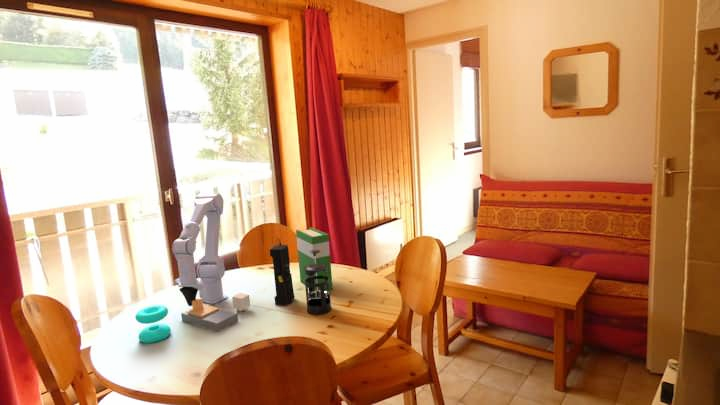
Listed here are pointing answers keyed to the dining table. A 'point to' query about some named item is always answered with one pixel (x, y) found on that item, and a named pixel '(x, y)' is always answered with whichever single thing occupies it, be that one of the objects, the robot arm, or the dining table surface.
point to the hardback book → (307, 243)
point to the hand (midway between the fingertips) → (191, 304)
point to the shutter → (201, 308)
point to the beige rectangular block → (241, 301)
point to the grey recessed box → (212, 319)
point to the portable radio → (282, 275)
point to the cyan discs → (156, 330)
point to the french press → (317, 297)
